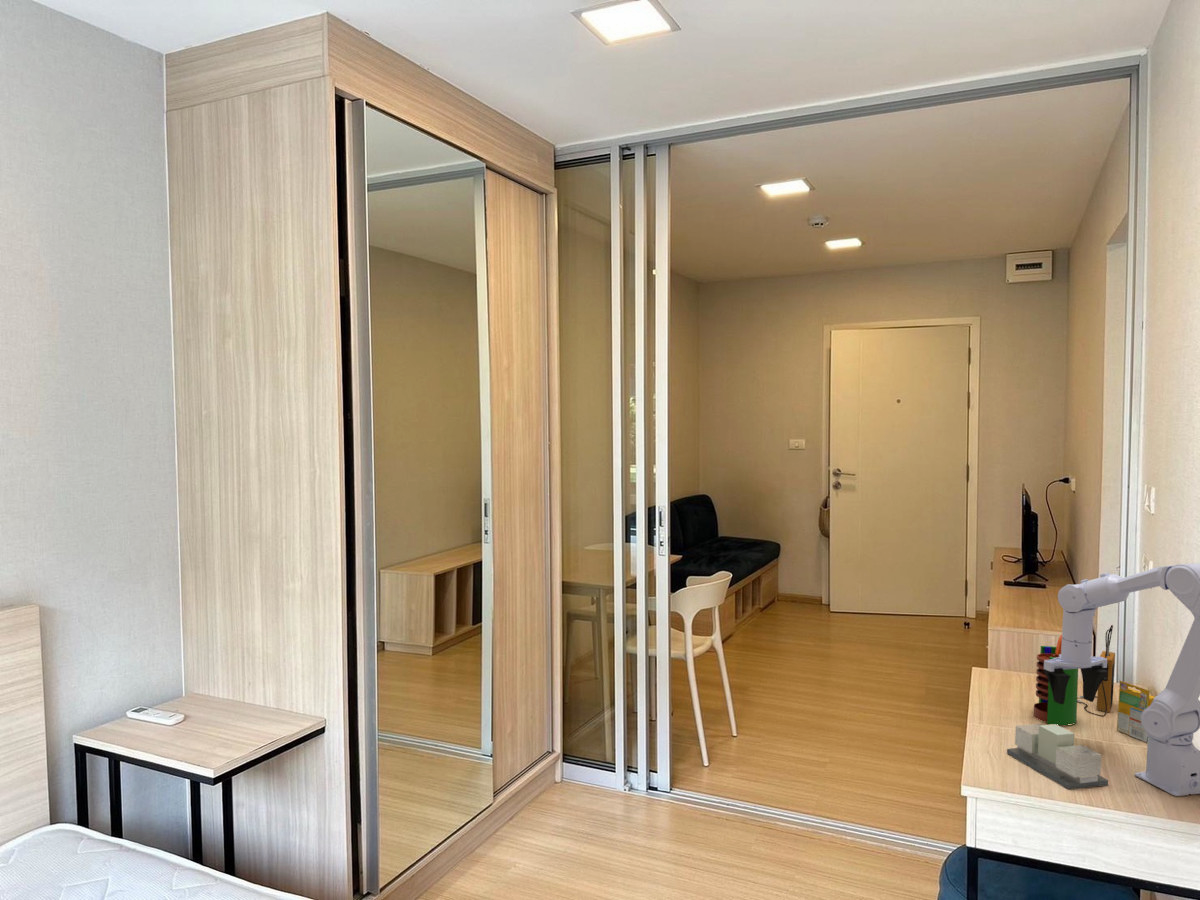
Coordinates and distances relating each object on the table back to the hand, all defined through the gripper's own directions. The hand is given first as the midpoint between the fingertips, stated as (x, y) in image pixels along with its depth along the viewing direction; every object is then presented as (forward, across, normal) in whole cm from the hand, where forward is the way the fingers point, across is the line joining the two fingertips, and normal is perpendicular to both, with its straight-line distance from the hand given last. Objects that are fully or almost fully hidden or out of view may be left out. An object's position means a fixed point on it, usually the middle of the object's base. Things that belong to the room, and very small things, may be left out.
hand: (1073, 701), depth 187 cm
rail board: (+9, +13, +10) cm, 19 cm away
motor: (+10, -8, -14) cm, 19 cm away
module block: (+7, +13, +10) cm, 18 cm away
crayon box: (+10, -18, -1) cm, 20 cm away
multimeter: (+10, -23, -20) cm, 32 cm away
